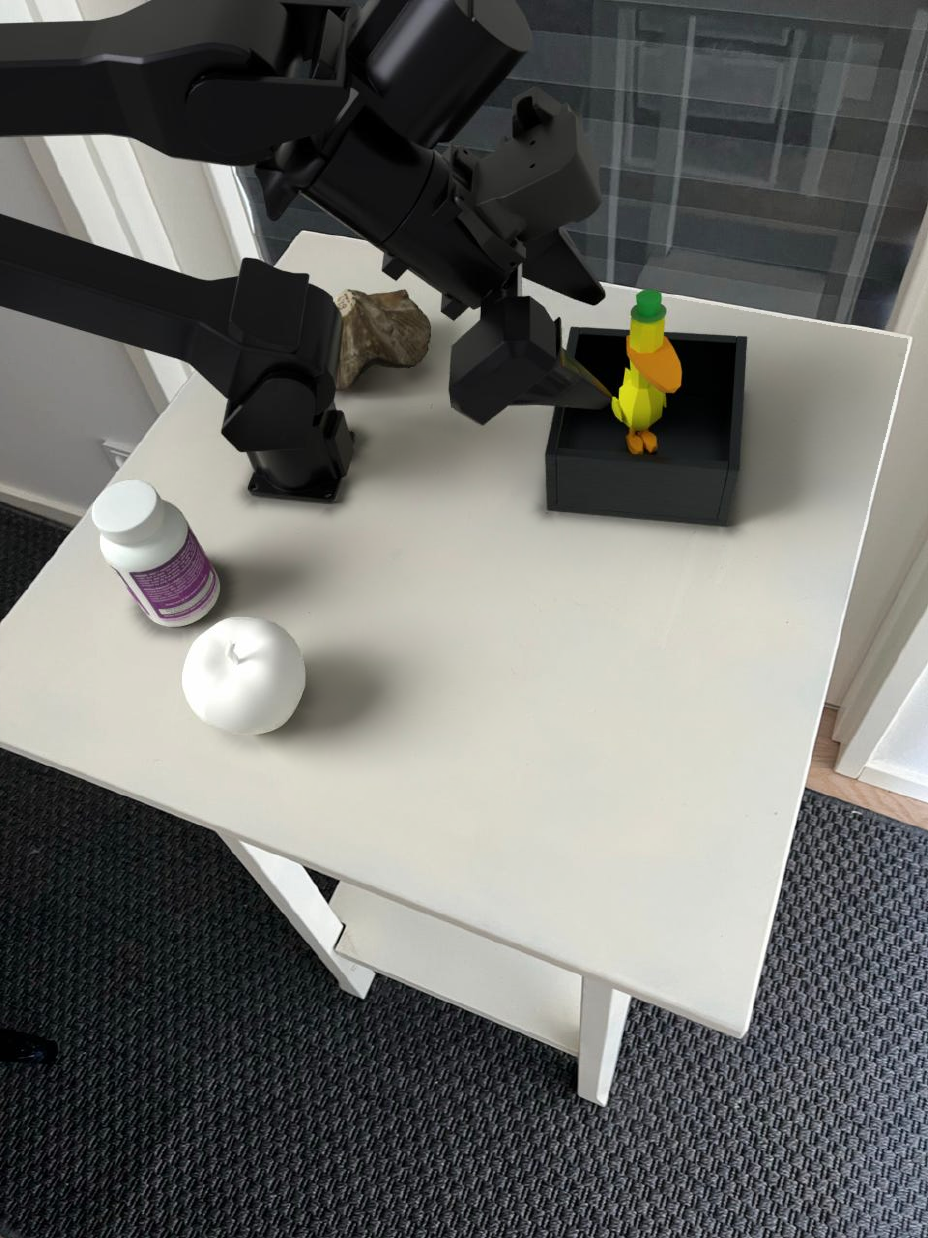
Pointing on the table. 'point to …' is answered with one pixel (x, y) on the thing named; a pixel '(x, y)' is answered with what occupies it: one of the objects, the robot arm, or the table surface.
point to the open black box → (686, 434)
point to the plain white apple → (244, 676)
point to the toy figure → (646, 372)
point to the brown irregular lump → (379, 333)
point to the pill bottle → (155, 553)
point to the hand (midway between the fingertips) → (603, 349)
